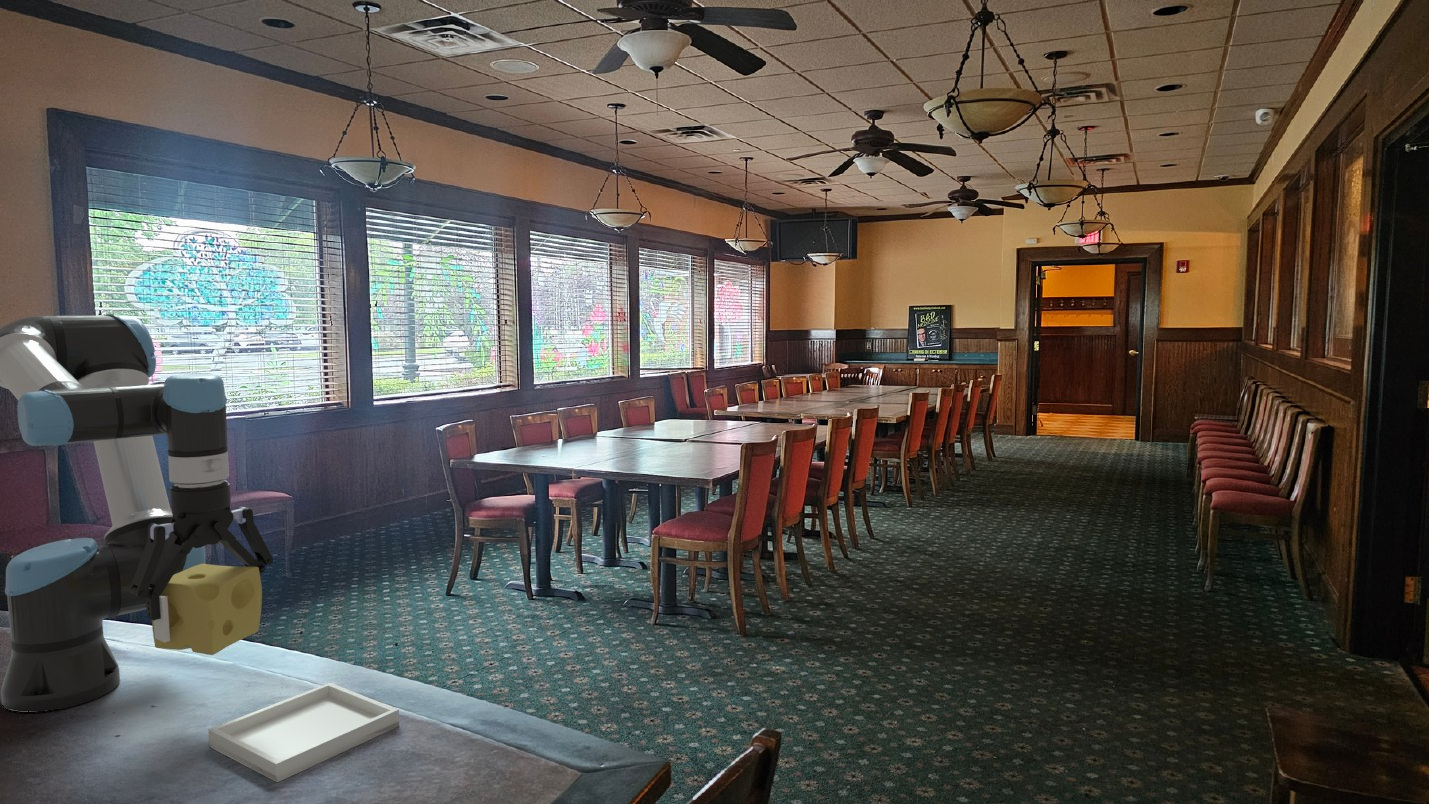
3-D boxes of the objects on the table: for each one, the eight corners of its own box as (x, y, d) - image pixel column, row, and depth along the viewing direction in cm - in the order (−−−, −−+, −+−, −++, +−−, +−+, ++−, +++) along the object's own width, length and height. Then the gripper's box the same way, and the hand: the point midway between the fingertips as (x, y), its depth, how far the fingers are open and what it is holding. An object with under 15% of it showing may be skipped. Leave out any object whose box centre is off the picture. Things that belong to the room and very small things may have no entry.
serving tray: (209, 746, 125) (208, 729, 125) (330, 697, 141) (330, 682, 140) (277, 782, 116) (276, 763, 116) (399, 725, 132) (398, 709, 131)
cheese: (213, 656, 127) (209, 588, 126) (148, 649, 129) (144, 581, 128) (265, 629, 137) (261, 566, 136) (204, 623, 139) (200, 560, 138)
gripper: (120, 501, 118) (130, 659, 121) (294, 471, 138) (300, 607, 141) (93, 493, 122) (104, 646, 125) (266, 465, 143) (272, 598, 145)
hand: (208, 626), depth 133 cm, fingers closed on cheese, 12 cm apart
